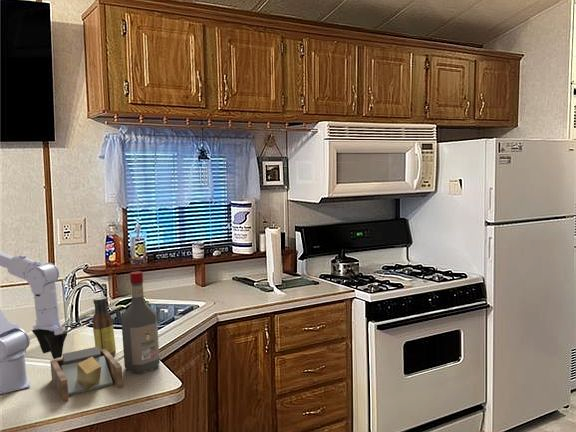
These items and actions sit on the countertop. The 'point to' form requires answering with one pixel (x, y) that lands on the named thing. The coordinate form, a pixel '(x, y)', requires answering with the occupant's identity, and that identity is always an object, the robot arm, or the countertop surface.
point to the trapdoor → (72, 365)
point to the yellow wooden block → (88, 373)
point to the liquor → (139, 331)
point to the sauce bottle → (103, 326)
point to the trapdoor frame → (61, 380)
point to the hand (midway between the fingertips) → (52, 355)
